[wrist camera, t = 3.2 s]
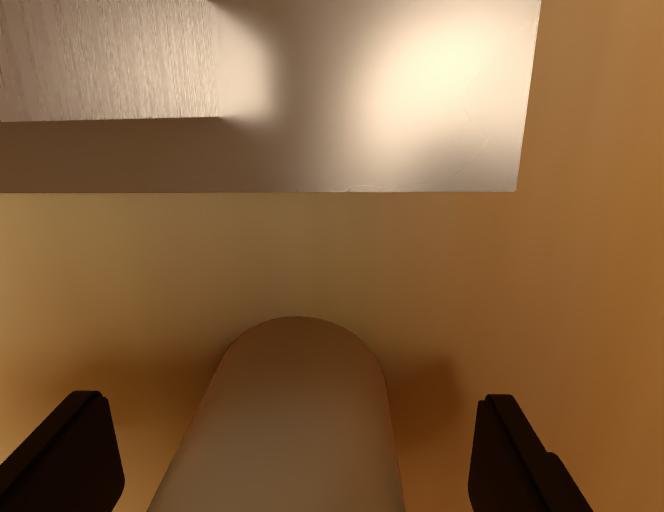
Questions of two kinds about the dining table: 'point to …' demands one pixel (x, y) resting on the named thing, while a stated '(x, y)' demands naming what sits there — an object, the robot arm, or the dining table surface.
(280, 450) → the toy camera lens
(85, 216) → the dining table surface
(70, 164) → the box with side knob
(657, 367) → the dining table surface
